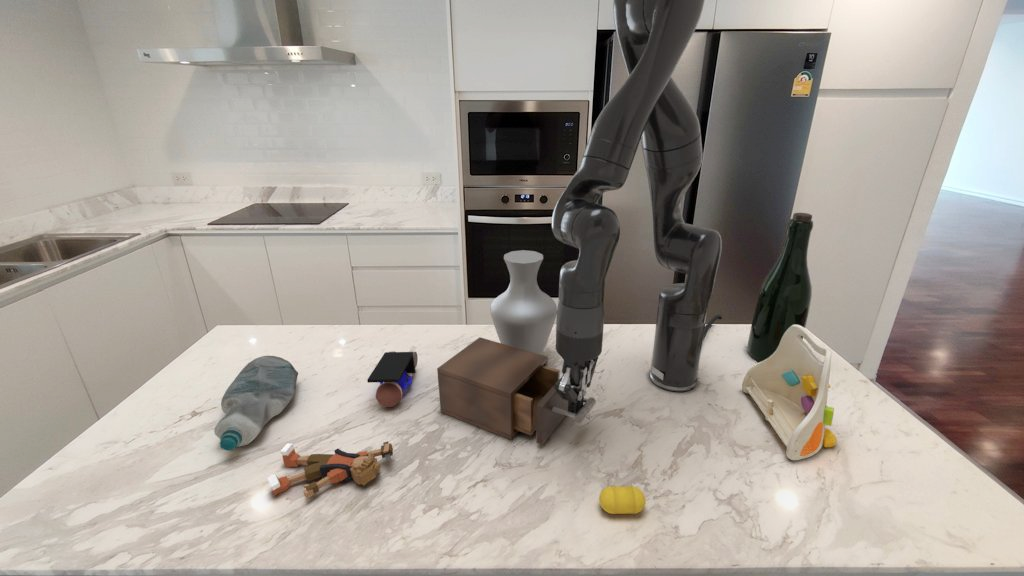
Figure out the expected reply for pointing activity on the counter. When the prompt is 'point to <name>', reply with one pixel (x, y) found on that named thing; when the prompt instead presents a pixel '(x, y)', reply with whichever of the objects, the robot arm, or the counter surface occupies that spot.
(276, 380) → the plastic water bottle
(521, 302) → the vase
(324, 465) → the character figurine
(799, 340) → the shape sorter
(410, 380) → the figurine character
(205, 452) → the counter surface
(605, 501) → the yellow capsule
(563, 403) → the drawer
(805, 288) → the green wine bottle
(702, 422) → the counter surface
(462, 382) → the cabinet
